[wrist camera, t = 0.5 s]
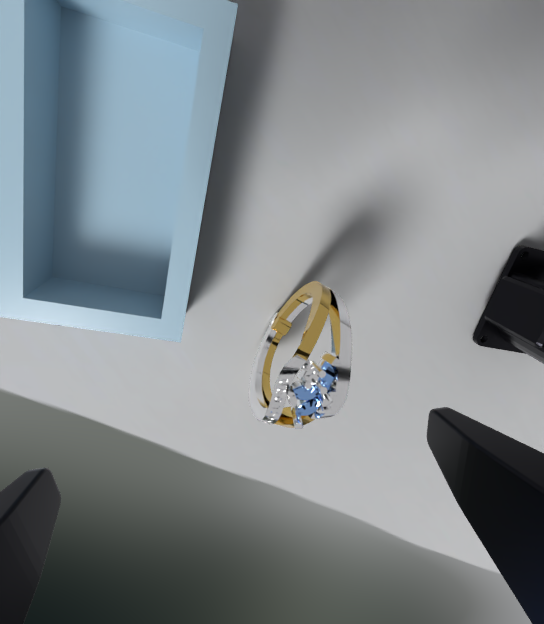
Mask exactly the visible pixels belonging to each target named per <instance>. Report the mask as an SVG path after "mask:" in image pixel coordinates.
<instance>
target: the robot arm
mask: <svg viewBox="0 0 544 624" xmlns="http://www.w3.org/2000/svg"><path fill="white" fill-rule="evenodd" d="M522 253H523V255H522V257H521V254H522ZM482 336H483V338H482V339H481V337H482ZM473 341H474V342H475V343H476V344H478V345H480V346H484V347H490V348H496V349H502V350H508V351H514V352H519V353H525V354H528V355H530V356H532V357H533V358H535V359H537V360H538V361H540V362H542V363H543V364H544V251H541V250H538V249H534V248H530V247H526V246H519V247H517V248H515V249H514V251H513V252H512V254H511V257H510V259H509V261H508V263H507V265H506V267H505V269H504V271H503V274H502V276H501V278H500V280H499V282H498V284H497V286H496V288H495V290H494V293H493V295H492V297H491V299H490V301H489V303H488V305H487V307H486V309H485V312H484V314H483V316H482V318H481V320H480V322H479V324H478V326H477V329H476V331H475V333H474V335H473ZM427 441H428V444H429V447H430V449H431V451H432V453H433V455H434V457H435V459H436V461H437V463H438V465H439V467H440V469H441V471H442V473H443V475H444V477H445V479H446V481H447V483H448V485H449V487H450V489H451V491H452V493H453V495H454V497H455V499H456V501H457V503H458V505H459V506H460V508H461V510H462V511H463V513H464V515H465V516H466V518H467V520H468V521H469V523H470V524H471V526H472V528H473V529H474V531H475V532H476V534H477V536H478V537H479V539H480V540H481V542H482V544H483V545H484V547H485V548H486V550H487V552H488V553H489V555H490V557H491V558H492V560H493V561H494V563H495V565H496V566H497V568H498V569H499V571H500V573H501V574H502V576H503V577H504V579H505V580H506V582H507V584H508V585H509V587H510V589H511V590H512V592H513V593H514V595H515V597H516V598H517V599H518V601H519V603H520V605H521V606H522V608H523V609H524V611H525V613H526V614H527V616H528V618H529V619H530V621H531V622H532V624H544V453H542V452H540V451H538V450H536V449H533V448H531V447H529V446H527V445H525V444H523V443H521V442H519V441H517V440H515V439H513V438H511V437H509V436H507V435H504V434H502V433H500V432H498V431H496V430H494V429H492V428H490V427H488V426H486V425H484V424H482V423H480V422H478V421H475V420H473V419H471V418H469V417H467V416H465V415H463V414H461V413H459V412H457V411H455V410H453V409H451V408H448V407H443V408H436V409H432V410H431V411H430V413H429V419H428V428H427ZM60 503H61V495H60V492H59V489H58V487H57V484H56V482H55V480H54V477H53V475H52V473H51V471H50V470H49V469H48V468H40V469H33V470H29V471H27V472H25V473H24V474H22V475H21V476H20V477H18V478H17V479H16V480H15V481H14V482H12V483H11V484H10V485H8V486H7V487H6V488H5V489H3V490H2V491H1V492H0V624H23V623H24V620H25V617H26V615H27V612H28V610H29V607H30V604H31V602H32V599H33V596H34V593H35V591H36V588H37V585H38V582H39V580H40V577H41V573H42V570H43V567H44V563H45V559H46V556H47V552H48V548H49V544H50V540H51V537H52V533H53V530H54V526H55V522H56V519H57V515H58V511H59V508H60Z"/></svg>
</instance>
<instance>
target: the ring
mask: <svg viewBox="0 0 544 624" xmlns="http://www.w3.org/2000/svg"><path fill="white" fill-rule="evenodd" d="M311 303H312V307H311V311H310V315H309V318H308V321H307V324H306V327H305V331H304V334H303V337H302V340H301V343H300V345H299V347H298V349H297V351H296V352H295V354H294V356H293V357H292V358H291V359H290V360H289V361H288V362H287V363H286V365H285V366H284V367H283V369H282V371H281V372H280V374H279V376H278V378H277V381H276V383H275V386H274V390H273V393H271V389H270V368H271V363H272V359H273V356H274V353H275V350H276V348H277V346H278V343H279V341H280V339H281V338H282V336H283V335H284V336H285V335H286V334H287V333H288V331H289V330H290V328H291V326H292V323H291V322H292V321H293V320H294V319H295V317H296V316H297V315H298V314H299V313H300V312H301V311H302V310H303V309H304V308H305V307H307V306H308V305H309V304H311ZM328 313H329V318H330V324H331V335H332V355H331V354H329V353H328V352H326V351H325V352H324V353H323V354H322V355H321V358H322V359H321V360H320V361H319V363H318V364H317V363H316V362H314V361H312V362H311V361H309V359H308V357H309V355H310V353H311V352H312V350H313V348H314V346H315V344H316V342H317V340H318V338H319V336H320V333H321V331H322V329H323V326H324V324H325V321H326V318H327V315H328ZM351 361H352V332H351V324H350V319H349V315H348V311H347V308H346V305H345V303H344V301H343V299H342V298H341V296H340V295H338V294H337V293H336V292H334V291H333V290H331V289H330V288H328V287H326V286H324V285H323V284H321V283H320V282H317V281H313V282H310V283H308V284H306V285H304V286H303V287H302V288H300V289H299V290H298V291H297V292H296V293H295V294H294V295H293V296H292V297H291V298H290V299H289V300H288V301H287V302H286V304H285V305H284V306H283V307H282V309H281V310H280V311H279V313H278V312H277V313H276V314H275V315H274V316H273V317H272V319H271V321H270V326H269V328H268V329H267V331H266V333H265V335H264V337H263V339H262V341H261V344H260V346H259V348H258V351H257V354H256V356H255V360H254V363H253V366H252V370H251V375H250V381H249V390H248V398H249V405H250V409H251V411H252V413H253V415H254V417H255V418H256V419H257V420H260V421H262V422H265V423H268V424H277V425H280V426H283V427H287V428H295V429H302V428H303V425H305V424H307V423H309V422H311V421H313V420H315V419H320V418H329V417H332V416H334V415H336V414H337V413H338V412H339V411H340V410H341V408H342V407H343V405H344V403H345V401H346V398H347V394H348V389H349V382H350V373H351ZM300 368H301V372H298V371H299V369H300ZM297 372H298V373H297ZM296 374H297V375H296ZM295 375H296V376H297V378H298V379H299V381H296V382H294V383H292V380H293V379H294V377H295ZM291 383H292V384H291ZM326 393H327V395H326ZM286 397H287V398H288V402H289V404H290V405H291V406H290V407H286V408H284V404H285V401H286Z"/></svg>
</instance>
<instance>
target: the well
mask: <svg viewBox="0 0 544 624" xmlns="http://www.w3.org/2000/svg"><path fill="white" fill-rule="evenodd" d="M237 8H238V4H236V3H234V2H231V1H228V0H0V317H4V318H11V319H18V320H26V321H33V322H40V323H47V324H54V325H61V326H68V327H75V328H82V329H90V330H97V331H104V332H111V333H118V334H125V335H132V336H139V337H147V338H154V339H161V340H168V341H175V342H181V338H182V332H183V326H184V320H185V314H186V308H187V302H188V296H189V291H190V285H191V279H192V273H193V267H194V261H195V255H196V249H197V243H198V238H199V232H200V226H201V220H202V214H203V208H204V202H205V196H206V191H207V185H208V179H209V173H210V167H211V161H212V155H213V149H214V143H215V138H216V132H217V126H218V120H219V114H220V108H221V102H222V96H223V90H224V85H225V79H226V73H227V67H228V61H229V55H230V49H231V43H232V38H233V32H234V26H235V20H236V14H237Z"/></svg>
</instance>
